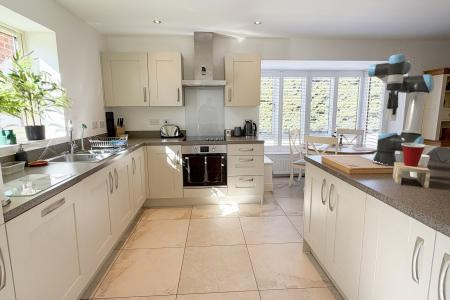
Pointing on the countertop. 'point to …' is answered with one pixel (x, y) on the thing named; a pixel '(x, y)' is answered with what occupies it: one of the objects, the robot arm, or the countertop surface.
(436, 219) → the countertop surface
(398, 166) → the oak shelf
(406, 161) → the plastic cup
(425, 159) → the foam cup
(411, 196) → the countertop surface
